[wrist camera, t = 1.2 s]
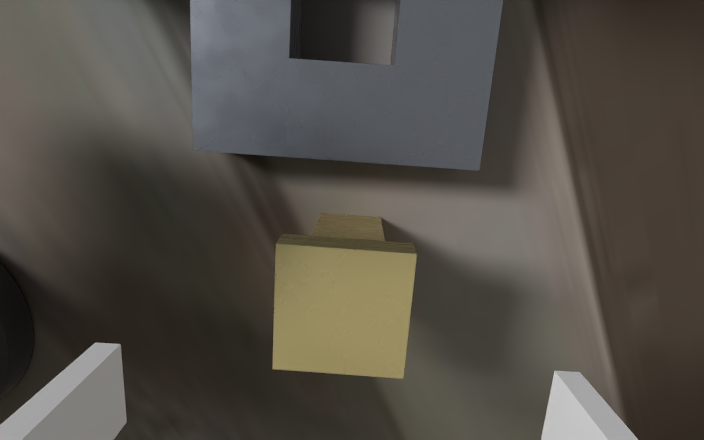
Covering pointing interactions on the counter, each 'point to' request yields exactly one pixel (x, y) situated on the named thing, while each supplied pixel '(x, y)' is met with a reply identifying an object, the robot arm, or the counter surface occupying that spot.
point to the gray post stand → (344, 85)
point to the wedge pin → (343, 299)
